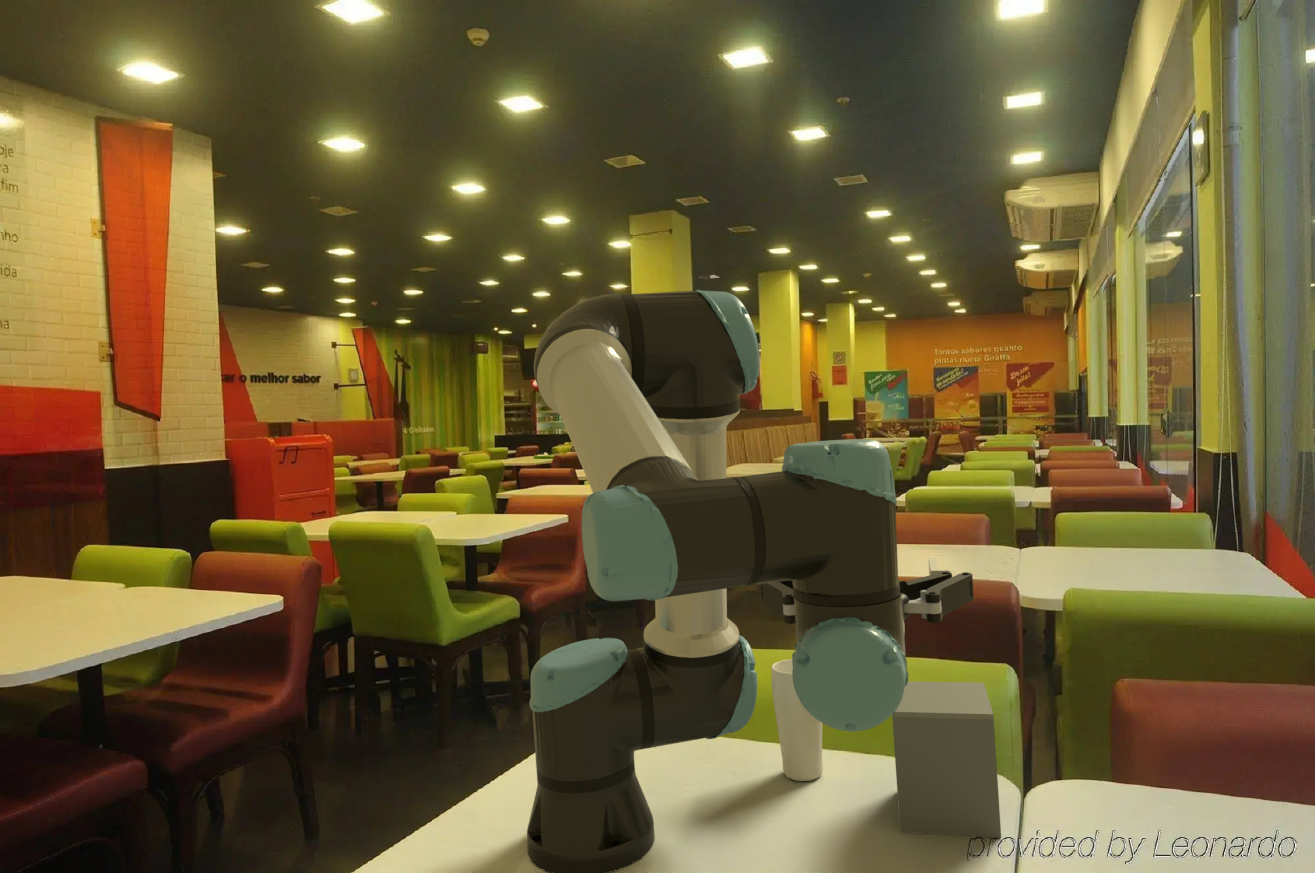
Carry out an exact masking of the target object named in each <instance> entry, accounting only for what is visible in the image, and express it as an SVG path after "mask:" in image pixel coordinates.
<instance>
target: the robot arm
mask: <svg viewBox="0 0 1315 873" xmlns="http://www.w3.org/2000/svg"><path fill="white" fill-rule="evenodd" d="M748 312H749V311H748V310H747V309H746V306H745V305H744V304H743V302H742V301H741V300H740V299H739V298H738V297H737V296H736V295H734V294H732V293H731V292H727V291H718V290H717V291H713V290H711V291H710V290H700V289H695V290H678V291H662V292H661V291H659V292H645V293H644V292H643V293H624V294H623V293H622V294H620V293H609V294H602V295H597V296H593V297H590V298H588V299H585V300H582V301H580V302H577V303H576V304H574V305H572V306H571V307H568V309H566V310H565V311H563V312H562V313H561V314H560V315H559V316H558V317H557V318H555V319H554V320H553V322H552V323H551V324H550V325H549V326H548V327H547V328H546V330H545V331H544V333H543V335H542V336H541V338H540V339H539V342H538V344H537V347H536V350H535V353H534V354H535V355H534V361H533V372H534V379H535V383H536V385H537V388H538V391H539V393H540V396H541V398H542V399H543V401H544V402H545V404H546V406H547V407H549V408H550V409H551V410H552V411H553V412H554V413H556V414H558V415H559V416H560V418H561V420H562V422H563V425H564V427H565V430H566V431H567V434H568V436H569V439H570V441H571V443H572V446H573V449H574V451H575V453H576V456H577V458H578V461H579V462H580V466H581V467H582V470H583V472H584V475H585V476H586V480H587V481H588V484H589V486H590V490H591V491H592V493H591V494H590V495H588V496H587V498H586V499H585V500H584V503H583V507H582V513H581V536H582V538H581V539H582V548H583V549H582V551H583V552H582V553H583V556H584V558H583V559H584V562H585V564H586V569H587V570H586V571H587V577H588V581H589V583H590V586H591V589H592V590H593V592H594V593H595V594H596V595H597V596H598V597H599V598H601V599H602V600H605V601H608V602H621V601H631V600H633V601H634V600H647V601H653V602H654V603H655V604H654V608H655V611H654V612H655V618H653V619H652V620H651V621H650V622H649V623H648V624H647V625H646V626H645V627H644V630H643V647H639V648H633V649H628V647H627V646H626V643H624V641H622V639H619V638H616V637H615V638H614V637H604V638H598V637H597V638H590V639H585V640H579V641H576V642H572V643H569V644H567V645H563V646H561V647H558V648H556V649H554V650H552V651H550V652H548V653H547V654H545V655H543V656H541V657H540V659H539V660H537V662H536V663H535V664H534V666H533V668H532V669H531V673H530V699H529V707H530V710H531V711H532V723H533V726H532V727H533V738H534V750H535V751H534V752H535V767H536V777H537V778H536V780H537V783H536V784H537V785H536V786H537V788H536V789H535V790H536V791H535V795H534V800H533V804H532V808H531V812H530V816H529V820H528V825H527V829H526V844H527V845H526V848H527V855H528V858H529V860H530V862H531V863H532V864H533V865H535V866H536V867H537V868H539V869H540V870H543V871H545V872H547V873H611V872H615V871H619V870H620V869H624V868H626V867H628V866H630V865H632V864H634V863H635V862H637V861H639V860H640V859H642V858H643V857H645V855H646V854H648V853H649V851H650V849H651V848H652V847H653V845H654V843H655V825H654V824H655V822H654V818H653V813H652V810H651V809H650V806H649V804H648V801H647V799H646V796H645V794H644V791H643V789H642V786H641V785H640V782H639V779H638V777H637V774H636V767H635V765H636V764H635V752H636V751H639V750H645V749H650V748H651V749H652V748H658V747H662V746H663V747H664V746H668V745H669V746H670V745H675V744H679V743H685V742H686V743H687V742H690V741H697V740H701V739H706V740H713V739H716V738H720V736H724V735H729V734H732V733H736V732H738V731H741V729H743V728H744V727H745V726H747V724H748V723H749V721H750V720H751V718H752V717H753V713H754V710H755V708H756V703H757V697H758V674H757V672H756V671H755V666H756V660H755V656H754V651H753V648H752V646H751V644H750V643H749V642H748V640H747V639H745V637H744V636H742V635H740V632H739V628H738V626H737V625H736V624H735V623H734V622H733V621H732V620H730V619H729V618H728V617H727V616H728V608H727V604H728V603H727V601H728V600H727V598H728V597H727V595H728V589H731V588H737V587H738V588H740V587H745V586H747V587H748V586H755V585H759V586H760V587H759V588H760V600H761V601H760V602H761V603H762V604H763V605H764V606H766V607H767V608H769V609H771V610H772V611H774V612H775V613H777V614H778V615H780V616H781V617H783V623H784V624H788V625H794V624H795V629H796V630H795V632H796V644H795V646H794V647H795V650H794V652H792V656H791V659H792V665H793V670H792V677H793V684H794V688H795V691H796V694H797V696H798V698H799V700H800V702H801V703H802V705H803V706H804V708H805V709H806V710H807V711H808V712H809V713H810V714H811V715H812V716H813V717H814V718H816V719H817V720H818V721H820V722H822V725H826V726H827V727H830V728H832V729H836V730H839V731H844V732H851V733H852V732H861V731H867V730H869V729H873V728H876V727H877V726H880V725H881V724H883V723H884V722H885V721H887V720H888V719H889V718H890V717H892V714H893V713H894V712H895V711H896V709H897V708H898V706H899V704H900V702H901V700H902V697H903V693H904V688H905V686H906V685H907V683H908V682H909V672H908V661H907V657H906V644H905V643H906V642H905V637H906V634H905V633H906V632H905V628H906V627H905V620H907V619H908V618H909V617H910V615H911V614H921V618H922V619H926V621H927V622H928V623H931V624H937V623H941V622H942V621H943V617H944V616H946V615H948V614H949V613H951V612H953V611H955V610H957V609H959V608H961V607H963V606H966V604H970V602H973V601H975V597H974V596H975V595H974V580H973V579H974V578H973V573H971V572H967V571H964V572H962V573H961V572H960V573H958V574H956V575H954V576H953V573H952V572H951V571H950V570H939V566H938V561H937V558H935V557H934V558H928V559H927V560H928V561H927V562H928V574H929V575H927V576H925V575H924V576H922V577H919V578H915V579H911V580H907V581H905V580H901V579H900V580H899V569H898V567H899V566H898V565H899V564H898V541H897V540H898V539H897V538H898V537H897V535H898V534H897V507H896V506H897V497H896V488H895V483H894V474H893V468H892V465H891V458H890V454H889V451H888V450H887V448H886V446H885V445H884V444H883V443H881V442H880V441H878V440H874V439H869V438H855V439H853V438H852V439H851V438H849V439H847V438H846V439H833V440H820V441H819V440H817V441H809V442H807V441H806V442H801V443H794V444H790V445H789V446H788V447H786V449H785V450H784V454H783V463H782V466H781V471H773V472H766V473H760V474H759V473H758V474H750V475H745V476H732V477H727V427H728V425H729V423H730V422H732V421H733V420H734V419H735V418H736V417H737V416H738V415H739V414H740V411H741V409H740V408H741V406H740V405H741V404H740V403H741V398H740V397H741V395H747V394H748V393H750V392H751V391H752V392H753V390H754V389H755V387H756V386H757V384H758V379H757V378H759V375H760V366H761V365H760V351H759V344H758V339H757V335H756V330H755V327H754V324H753V322H752V319H751V317H750V314H749V313H748Z"/></svg>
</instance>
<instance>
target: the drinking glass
mask: <svg viewBox="0 0 1315 873" xmlns="http://www.w3.org/2000/svg"><path fill="white" fill-rule="evenodd" d="M792 670H793V665H792V658H791V659H790V658H789V659H783V660H779V661H777V662H774V663H773V664H772V665H771V670H770V671H771V673H770V674H771V691H772V700H773V708H774V712H775V713H774V714H775V719H776V720H775V721H776V726H777V733H778V739H779V746H780V752H781V758H782V771H783V774H784V775H785V777H787V778H788V779H790V780H793V781H796V782H810V781H811V782H812V781H814V780H817V779H818V778H819V777H821V775H822V774H823V770H824V767H823V723H822V722H820V721H818V720H817V719H816V718H814V717H813V716H812V715H811V714H810V713H809V712H808V711H807V710H806V709H805V708H804V706H803V705H802V703H801V702H800V700H799V698H798V696H797V694H796V691H795V688H794V684H793V677H792Z"/></svg>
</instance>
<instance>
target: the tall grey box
mask: <svg viewBox="0 0 1315 873" xmlns="http://www.w3.org/2000/svg"><path fill="white" fill-rule="evenodd" d="M891 717H892V729H893V730H892V731H893V746H894V748H893V749H894V759H895V760H894V761H895V763H894V764H895V775H896V790H897V805H898V806H897V807H898V818H899V819H898V820H899V832H901V833H915V834H916V833H917V834H918V833H919V834H933V835H937V834H938V835H948V836H949V835H950V836H951V835H952V836H967V837H979V838H981V837H983V838H985V837H986V838H999V839H1001V838H1002V827H1001V813H1000V800H999V799H1000V797H999V795H1000V794H999V785H998V783H999V782H998V780H999V779H998V765H997V750H996V749H997V748H996V735H995V734H996V731H995V718H994V717H995V716H994V711H993V709H992V705H991V701H990V699H989V695H988V692H987V689H986V686H985V682H969V681H967V682H964V681H960V682H959V681H958V682H956V681H955V682H954V681H908V683H907V685H906V686H905V688H904V693H903V697H902V700H901V702H900V704H899V706H898V708H897V709H896V711H895V712H894V713H893V714H892V715H891Z"/></svg>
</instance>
